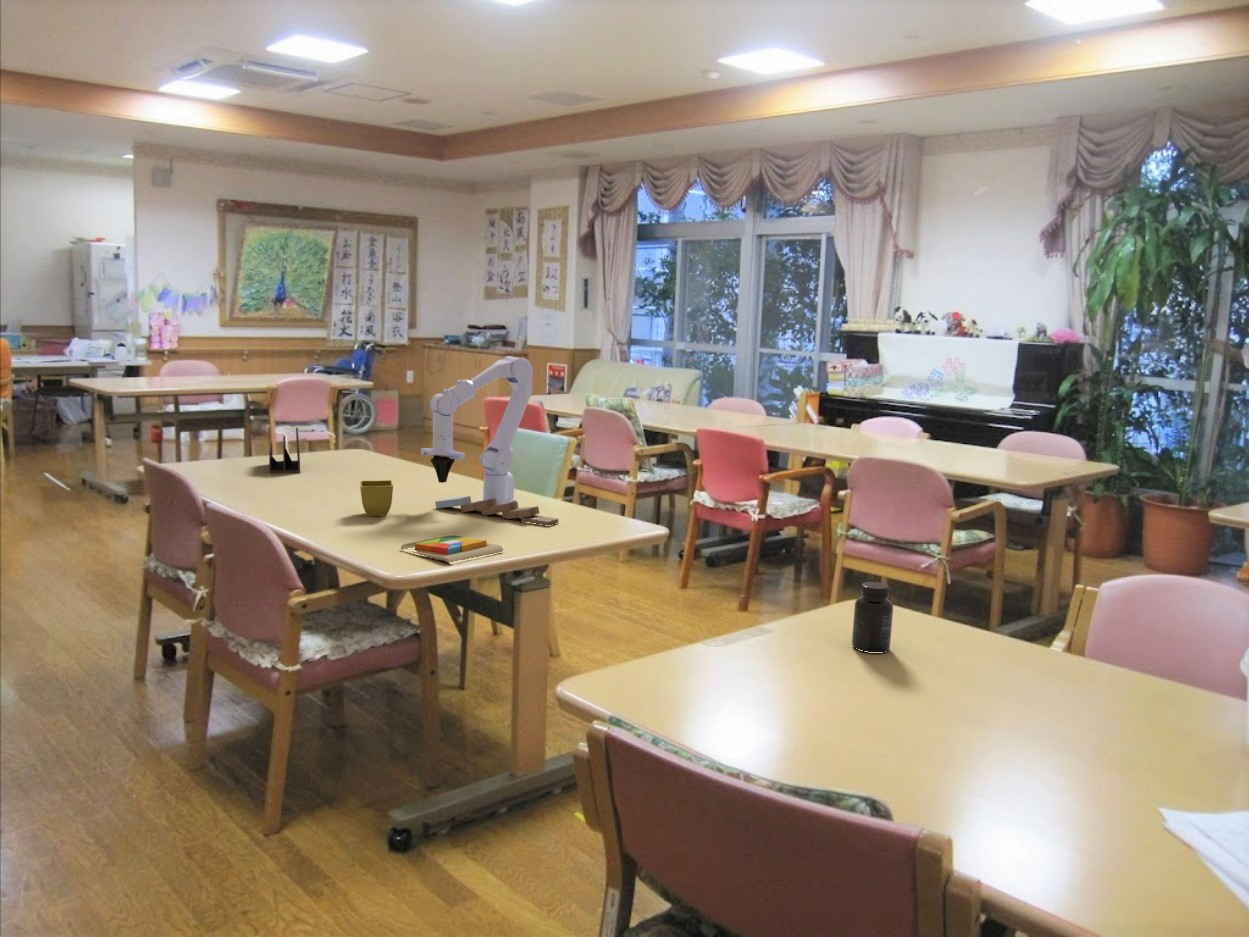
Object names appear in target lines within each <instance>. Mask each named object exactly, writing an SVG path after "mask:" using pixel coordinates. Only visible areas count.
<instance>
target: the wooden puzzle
mask: <svg viewBox="0 0 1249 937" xmlns="http://www.w3.org/2000/svg"><path fill="white" fill-rule="evenodd" d="M414 547H415V549H414V550H416V551H417V552H413V551H412V552H413V553H417V554H420V555H424V556H427V557H430V558H429V559H432V558H434V559H433V560H439V561H444V562H446V563H447V562H454V561H458V560H465V559H469V558H474V557H479V556H483V555H489V554H494V553H498V552H502V551H503V552H504V548H503V546H501V545H500V544H497V543H496V544H495V543H487V540H486V539H479V538H474V537H466V536H461V535H454V534H453V533H450V534H443V535H439V536H434V537H430V538H424V539H419V540H414V541H410V542H406V543H403V544H402V545H401V546H400V550H401V549H402V550H403V549H408V548H414Z"/></svg>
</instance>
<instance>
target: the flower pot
mask: <svg viewBox="0 0 1249 937" xmlns="http://www.w3.org/2000/svg"><path fill="white" fill-rule="evenodd" d="M359 486H360V487H359V489H360V496H361V503H362V506H363V510H364V512H365V513H366V516H367V517H386V516H388V513H389V512H390V510H391V506H392V502H393V493H394V492H393V490H394V484H393V480H390V479H389V480H388V479H386V480H382V479H381V480H380V479H379V480H360V481H359Z"/></svg>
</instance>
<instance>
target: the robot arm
mask: <svg viewBox="0 0 1249 937" xmlns="http://www.w3.org/2000/svg"><path fill="white" fill-rule="evenodd" d="M534 370H535V369H534V368H533V366H532V364H531V363H530V361H529V360H528V359H527V358H524V357H516V356H515V357H514V356H512V355H506V356H503V357H502V358H501V359H498V360H496V361H495V362H494V363H493V364H492V365H490V366H489V367H487V368H486V369H484V370H483V371H481V372H480V373H478V374H477V375H476V376H474V377H472V379H470V380H468V379H465V378H464V379H457V380H456V384H454V385H452V386H451V387H449V388H448V389H447V388H444V389H443V393H436V394H434V395H433V396H432V397H431V399H430V402H429V403H428V405H429V409H430V410H431V411H432V447H431V448H428V447H422V448H420V456H429V457H432V458H430V463H431V464H432V467H433V468H434V470H435V474H436V476H437V481H438V483H439V484H440V483H441V484H444V483H447V480H448V477H449V473H450V471H451V468H452V466H453V464H454V462H455V461H456V460H458V461H463V460H464V461H465V460H466V453H465V452H461V451H457V450H454V442H453V441H454V413H455V412H456V411H457V408H458V407H460V406H461V405H462V404H464V403H466V402H468V401H469V400H471V399H473V398H474V397H475V396H476V392H477V391H478V390H479V389H482V388H483V387H485V386H486V385H488V384H490V383H492V382H493V381H495V380H497V379H499V378H502V379H503V378H504V379H506V381H508V383H509V384H510V387H511V389H512V393H511V395H510V397H509V401H508V403H507V405H506V408H505V411H504V413H503V415H502V418H501V421H500V423H499V426H498V429H497V430H496V433H495V437H494V438H493V439H492V440H491V441H490V442H489V443H488V444H487V446H486V448H485V449H484V450H483V451H482V452H481V454H480V456H479V463H480V465H481V467H482V468H483V473H482V474H483V480H482V482H483V486H482V488H483V489H482V490H483V491H482V499H479V500H476V502H478V501H483V500H488V499H493V498H496V501H497V505H499V504H504V503H509V502H514V501H517V498H515V495H514V494H515V479H514V476H513V474H512V473H511V472H509V471H510V469H511V468H512V464H513V463H512V461H513V460H512V459H513V454H514V449H513V446H512V445H513V442H514V439H515V437H516V434H517V431H518V429H519V426H520V423H521V421H522V419H523V417H524V415H525V414H524V413H525V411H526V408H527V407H528V403H529V401H530V398H531V396H532V393H533V373H534V372H535V371H534Z"/></svg>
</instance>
